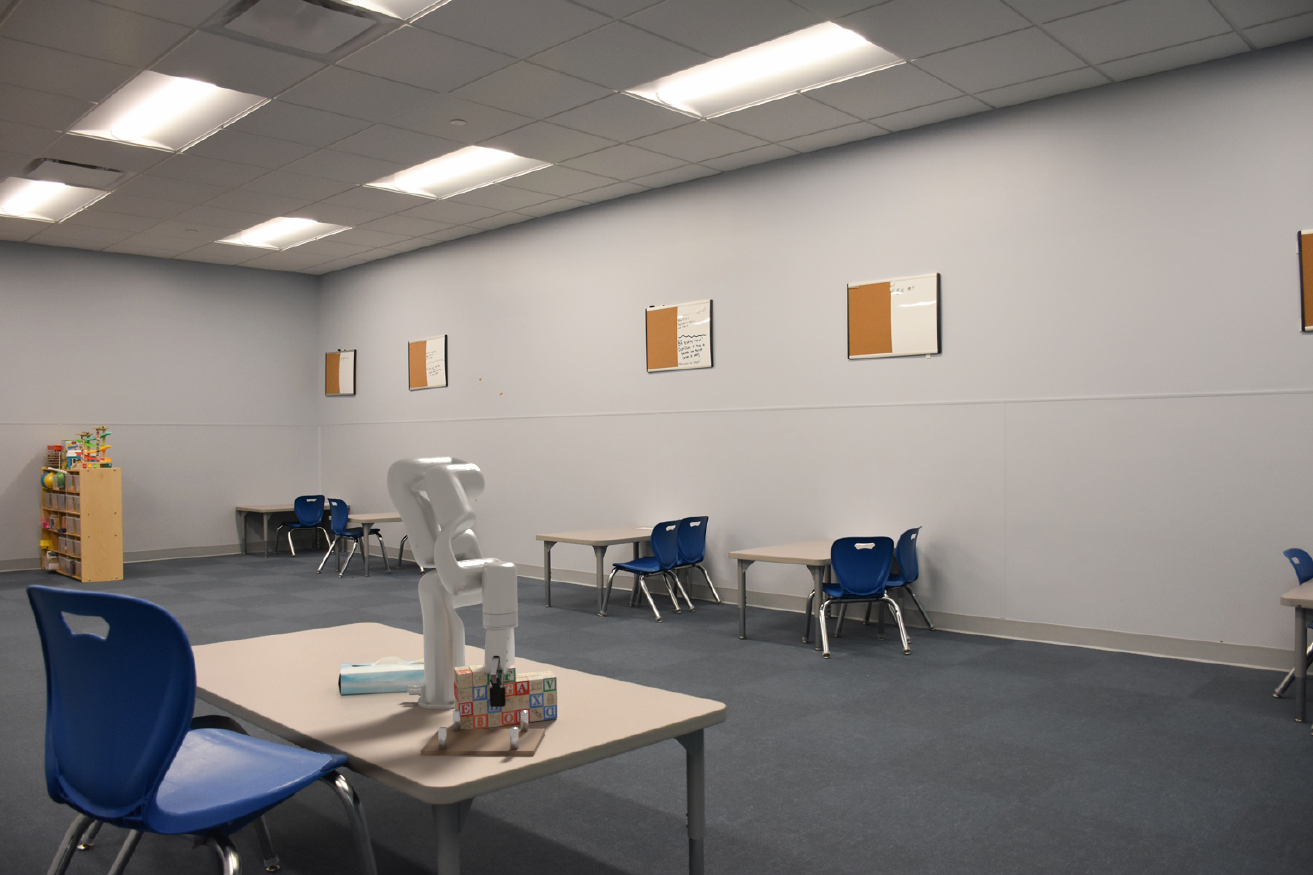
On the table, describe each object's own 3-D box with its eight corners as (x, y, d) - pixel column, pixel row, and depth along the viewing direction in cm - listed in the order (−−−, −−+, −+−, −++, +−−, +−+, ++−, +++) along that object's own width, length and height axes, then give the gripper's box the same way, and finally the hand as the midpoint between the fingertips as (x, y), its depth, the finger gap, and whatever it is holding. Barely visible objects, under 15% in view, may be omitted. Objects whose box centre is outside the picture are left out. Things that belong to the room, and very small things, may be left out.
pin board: (420, 758, 177) (420, 730, 177) (439, 735, 190) (438, 709, 190) (534, 758, 176) (533, 730, 176) (544, 735, 189) (544, 709, 189)
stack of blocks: (551, 711, 206) (550, 656, 206) (557, 719, 200) (556, 663, 200) (454, 722, 199) (453, 666, 199) (458, 731, 193) (457, 673, 193)
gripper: (492, 611, 208) (493, 689, 208) (473, 628, 191) (475, 712, 191) (524, 611, 208) (526, 688, 208) (509, 627, 190) (511, 712, 190)
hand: (502, 699), depth 199 cm, fingers closed on stack of blocks, 8 cm apart
